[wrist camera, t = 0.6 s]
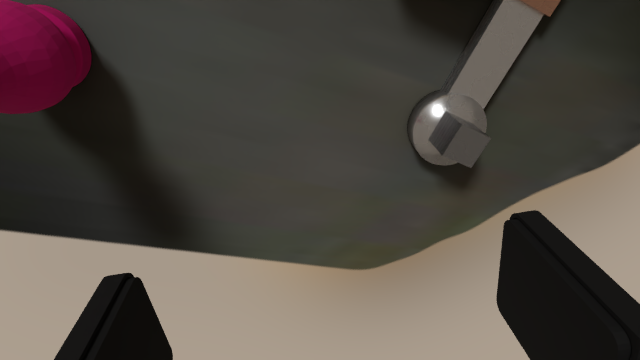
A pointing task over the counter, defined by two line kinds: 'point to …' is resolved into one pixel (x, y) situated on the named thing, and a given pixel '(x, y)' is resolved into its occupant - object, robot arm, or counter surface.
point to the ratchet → (474, 84)
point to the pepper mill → (39, 57)
